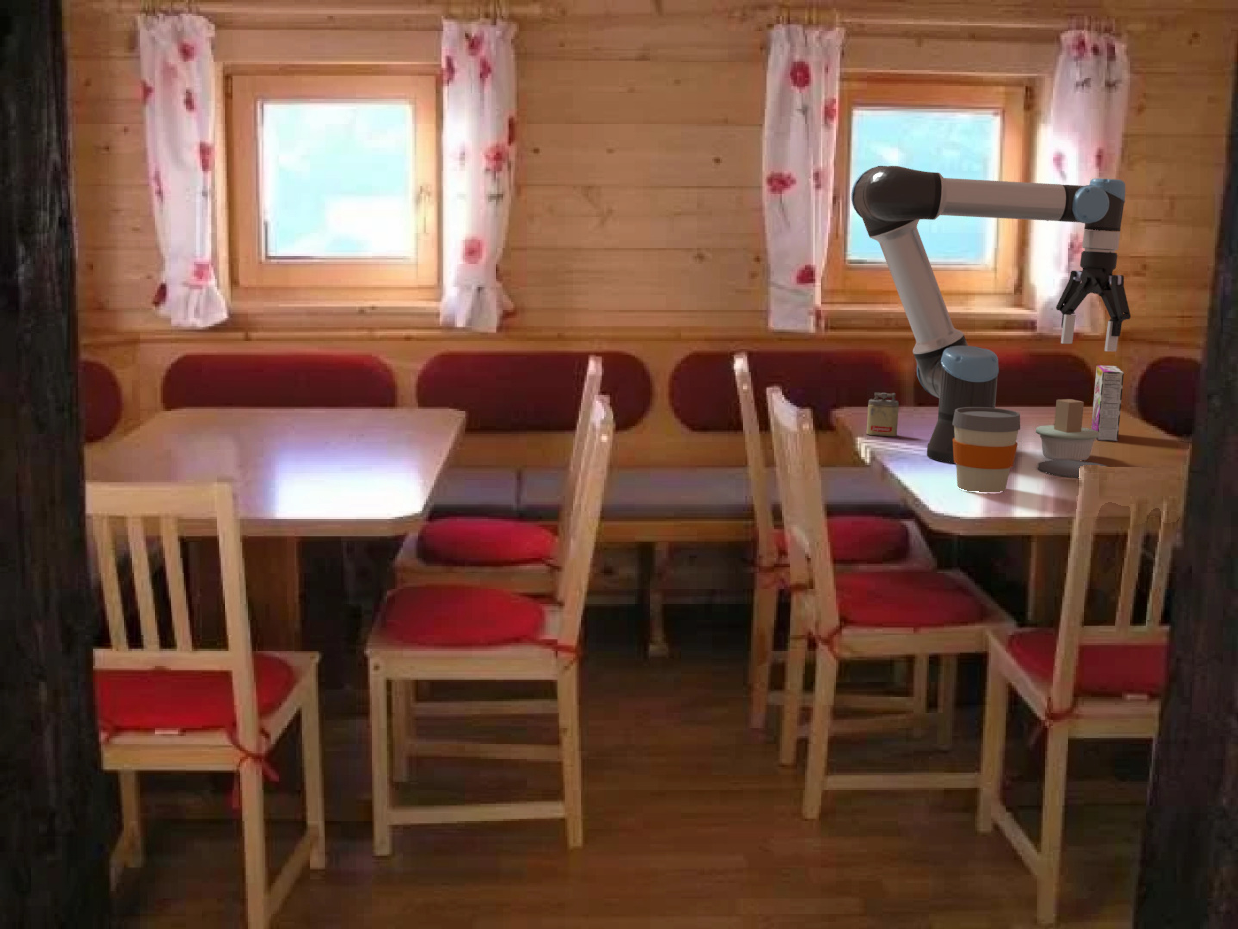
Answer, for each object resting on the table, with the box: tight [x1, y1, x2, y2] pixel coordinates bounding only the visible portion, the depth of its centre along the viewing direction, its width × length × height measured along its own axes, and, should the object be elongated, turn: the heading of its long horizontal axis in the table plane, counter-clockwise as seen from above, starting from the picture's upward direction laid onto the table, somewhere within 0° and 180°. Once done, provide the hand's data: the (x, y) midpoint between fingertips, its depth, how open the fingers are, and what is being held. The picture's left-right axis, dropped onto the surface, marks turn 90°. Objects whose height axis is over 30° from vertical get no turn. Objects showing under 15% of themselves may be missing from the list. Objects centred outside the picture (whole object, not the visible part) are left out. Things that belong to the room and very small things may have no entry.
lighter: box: [865, 392, 900, 437], centre depth 314 cm, size 7×4×10 cm, turn 76°
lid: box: [1035, 398, 1099, 440], centre depth 291 cm, size 13×13×7 cm
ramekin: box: [1039, 435, 1096, 461], centre depth 292 cm, size 11×11×5 cm
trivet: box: [1037, 459, 1107, 479], centre depth 278 cm, size 15×15×1 cm
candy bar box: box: [1090, 364, 1125, 442], centre depth 317 cm, size 11×5×16 cm, turn 168°
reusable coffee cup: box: [952, 407, 1021, 492], centre depth 258 cm, size 13×13×15 cm
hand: (1087, 347), depth 299 cm, fingers open, 13 cm apart
